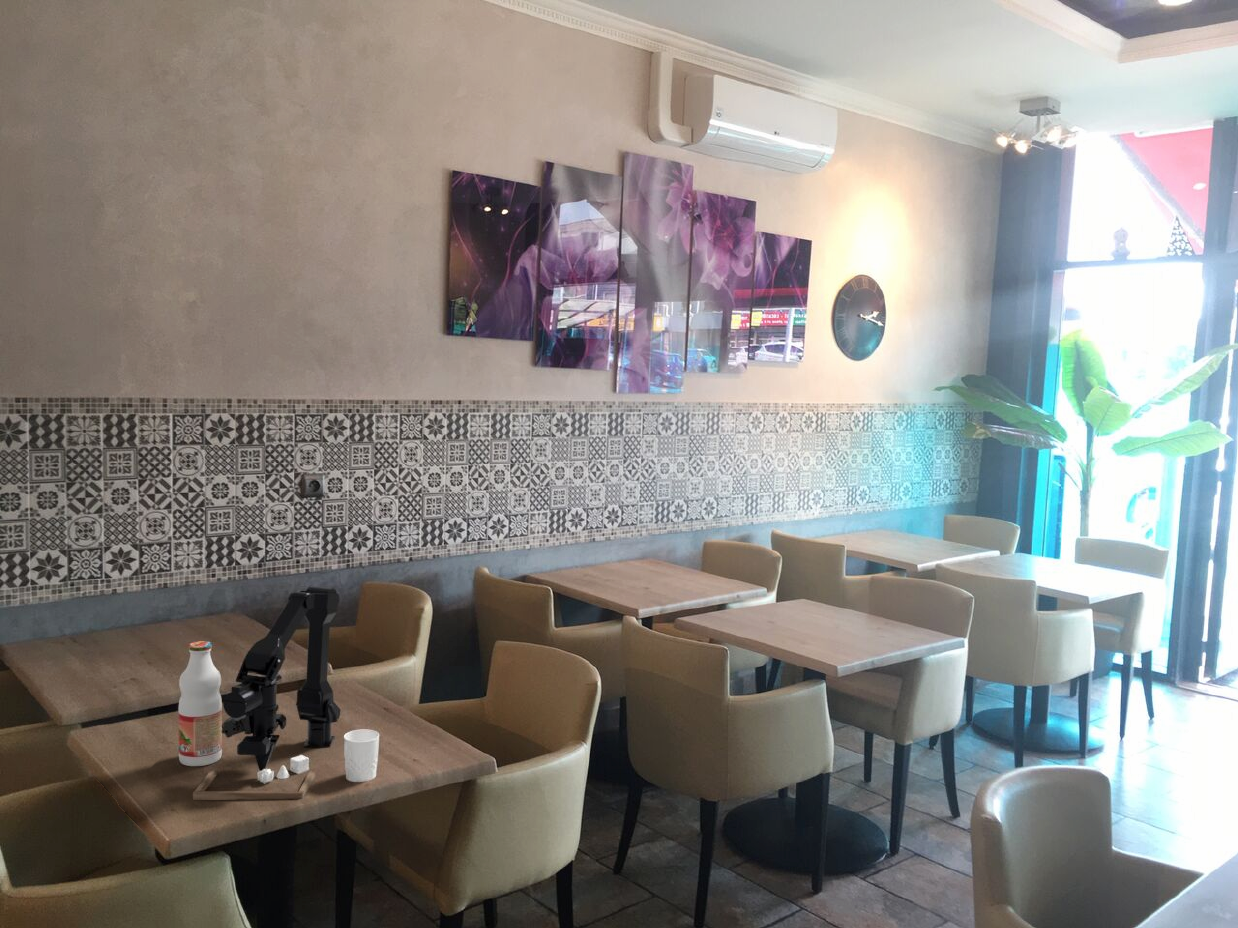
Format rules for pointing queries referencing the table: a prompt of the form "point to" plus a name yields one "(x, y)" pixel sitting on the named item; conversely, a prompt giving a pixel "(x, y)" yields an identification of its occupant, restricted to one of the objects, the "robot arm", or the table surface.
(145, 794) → the table surface
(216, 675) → the fruit juice
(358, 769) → the white cup
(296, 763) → the game pieces
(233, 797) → the rail corral
